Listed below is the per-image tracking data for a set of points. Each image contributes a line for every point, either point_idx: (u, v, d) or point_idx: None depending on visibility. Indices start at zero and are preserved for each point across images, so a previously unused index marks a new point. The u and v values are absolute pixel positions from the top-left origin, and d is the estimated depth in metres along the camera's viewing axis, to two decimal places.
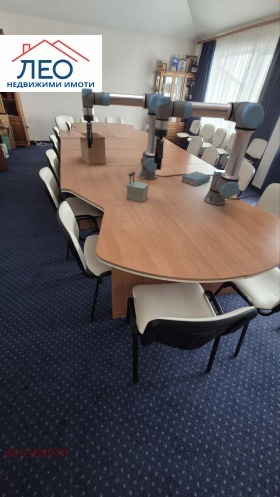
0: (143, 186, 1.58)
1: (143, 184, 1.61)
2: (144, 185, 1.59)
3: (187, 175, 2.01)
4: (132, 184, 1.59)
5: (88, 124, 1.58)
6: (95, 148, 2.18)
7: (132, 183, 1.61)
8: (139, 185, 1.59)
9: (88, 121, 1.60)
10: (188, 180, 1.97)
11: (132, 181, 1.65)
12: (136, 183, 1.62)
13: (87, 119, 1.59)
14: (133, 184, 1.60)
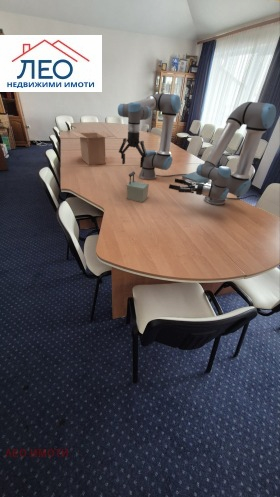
0: (143, 186, 1.58)
1: (143, 184, 1.61)
2: (144, 185, 1.59)
3: (187, 175, 2.01)
4: (132, 184, 1.59)
5: (142, 142, 1.43)
6: (95, 148, 2.18)
7: (132, 183, 1.61)
8: (139, 185, 1.59)
9: (138, 138, 1.42)
10: None
11: (132, 181, 1.65)
12: (136, 183, 1.62)
13: (138, 137, 1.41)
14: (133, 184, 1.60)
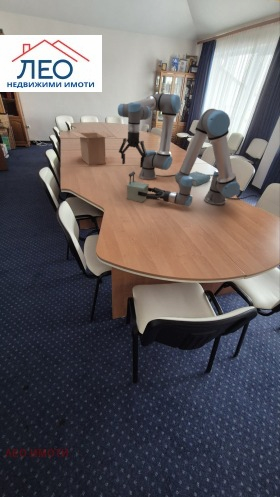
0: (143, 186, 1.58)
1: (143, 184, 1.61)
2: (144, 185, 1.59)
3: None
4: (132, 184, 1.59)
5: (142, 142, 1.43)
6: (95, 148, 2.18)
7: (132, 183, 1.61)
8: (139, 185, 1.59)
9: (138, 138, 1.42)
10: None
11: (132, 181, 1.65)
12: (136, 183, 1.62)
13: (138, 137, 1.41)
14: (133, 184, 1.60)
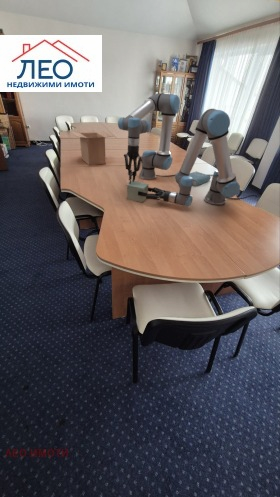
0: (143, 186, 1.58)
1: (143, 184, 1.61)
2: (144, 185, 1.59)
3: None
4: (132, 184, 1.59)
5: (141, 158, 1.49)
6: (95, 148, 2.18)
7: (132, 183, 1.61)
8: (139, 185, 1.59)
9: (138, 152, 1.47)
10: None
11: (132, 181, 1.64)
12: (136, 183, 1.62)
13: (137, 150, 1.46)
14: (133, 184, 1.60)
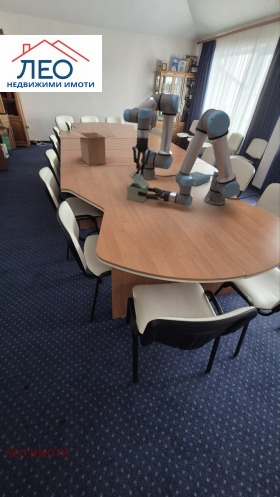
0: (144, 185, 1.57)
1: (144, 182, 1.60)
2: (145, 184, 1.59)
3: None
4: (135, 177, 1.56)
5: (150, 151, 1.44)
6: (95, 148, 2.18)
7: (135, 175, 1.57)
8: (141, 182, 1.57)
9: (147, 144, 1.42)
10: None
11: (136, 172, 1.60)
12: (139, 177, 1.59)
13: (147, 142, 1.41)
14: (136, 178, 1.56)
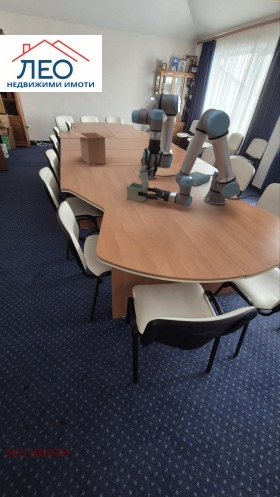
0: (145, 185, 1.57)
1: (147, 181, 1.59)
2: (146, 184, 1.58)
3: None
4: (142, 173, 1.52)
5: (163, 152, 1.41)
6: (95, 148, 2.18)
7: (143, 171, 1.53)
8: (144, 180, 1.55)
9: None
10: None
11: (145, 167, 1.55)
12: (145, 174, 1.56)
13: (159, 144, 1.39)
14: (143, 174, 1.53)
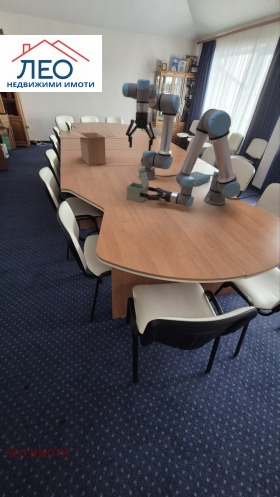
0: (145, 185, 1.57)
1: (146, 181, 1.59)
2: (146, 184, 1.58)
3: None
4: (142, 173, 1.52)
5: (151, 123, 1.35)
6: (95, 148, 2.18)
7: (143, 171, 1.53)
8: (144, 180, 1.55)
9: (147, 119, 1.34)
10: None
11: (144, 167, 1.55)
12: (144, 174, 1.56)
13: (146, 117, 1.33)
14: (142, 174, 1.53)
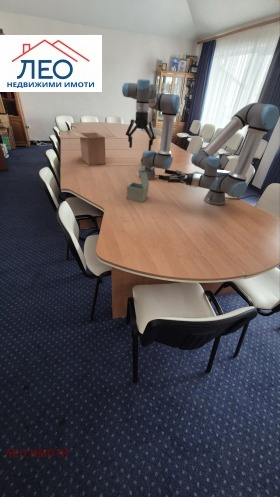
0: (145, 185, 1.57)
1: (146, 181, 1.59)
2: (146, 184, 1.58)
3: None
4: (142, 173, 1.52)
5: (151, 123, 1.35)
6: (95, 148, 2.18)
7: (143, 171, 1.53)
8: (144, 180, 1.55)
9: (147, 119, 1.34)
10: None
11: (144, 167, 1.55)
12: (144, 174, 1.56)
13: (146, 117, 1.33)
14: (142, 174, 1.53)
